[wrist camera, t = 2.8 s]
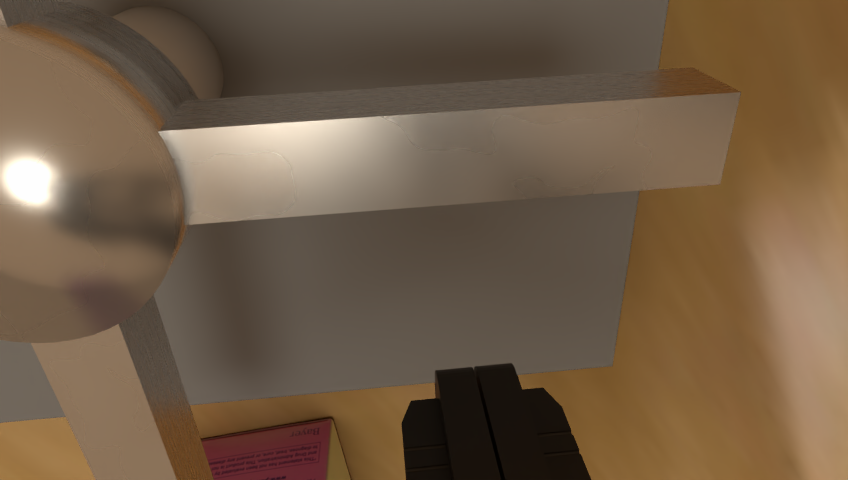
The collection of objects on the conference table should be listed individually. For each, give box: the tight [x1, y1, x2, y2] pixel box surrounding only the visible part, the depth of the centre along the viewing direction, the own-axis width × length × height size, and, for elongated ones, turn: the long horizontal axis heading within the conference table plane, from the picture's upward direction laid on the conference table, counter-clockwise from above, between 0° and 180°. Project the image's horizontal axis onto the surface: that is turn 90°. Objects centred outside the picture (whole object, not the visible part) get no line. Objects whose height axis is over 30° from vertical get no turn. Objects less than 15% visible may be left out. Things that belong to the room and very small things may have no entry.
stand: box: [0, 0, 669, 423], centre depth 13 cm, size 24×21×6 cm
